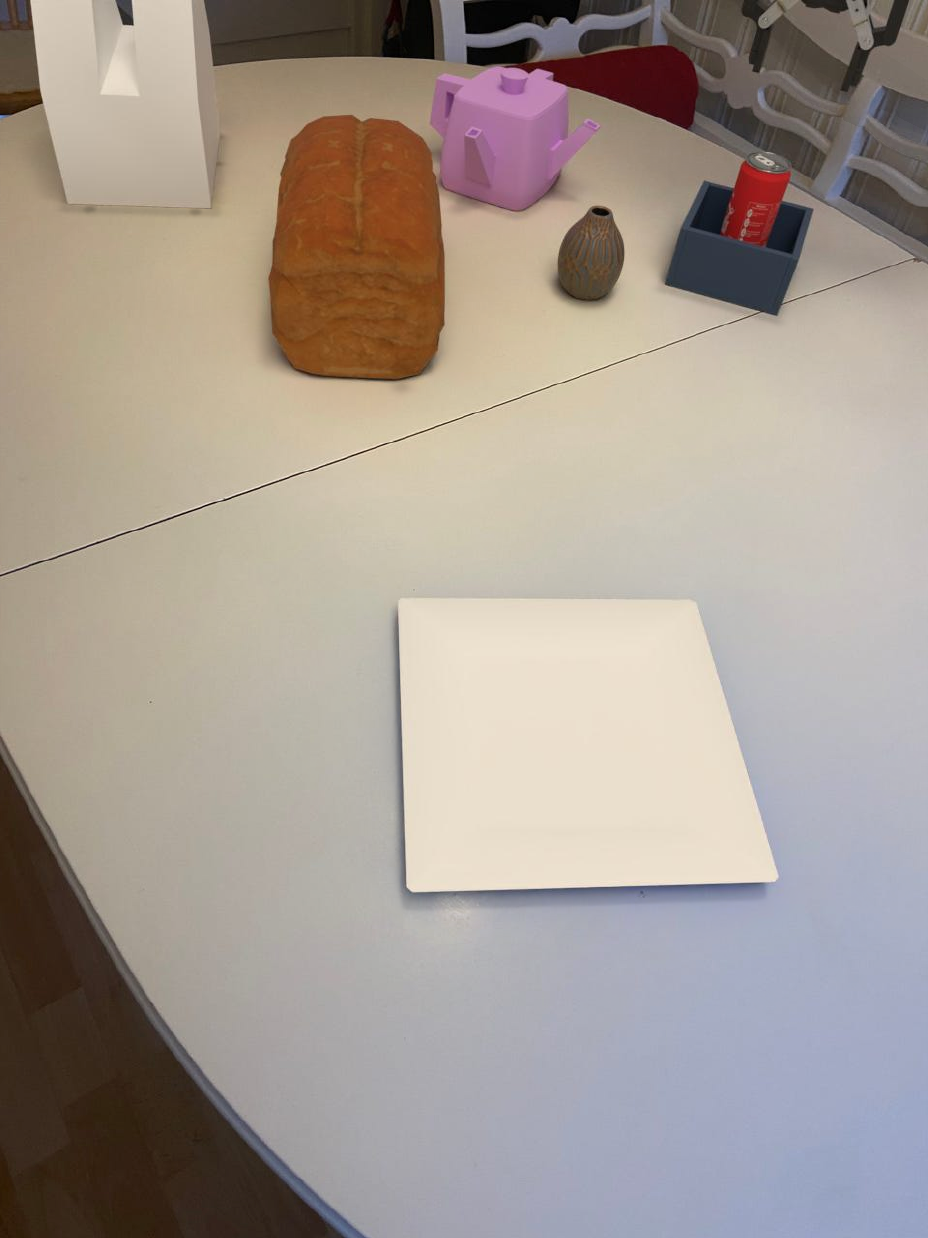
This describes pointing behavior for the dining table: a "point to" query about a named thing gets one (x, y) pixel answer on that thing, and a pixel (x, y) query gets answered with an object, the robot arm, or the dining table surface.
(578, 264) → the vase
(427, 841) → the plate
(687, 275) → the tub
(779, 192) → the beverage can
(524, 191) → the teakettle
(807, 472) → the dining table surface
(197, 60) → the white notched block
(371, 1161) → the dining table surface
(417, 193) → the bread
